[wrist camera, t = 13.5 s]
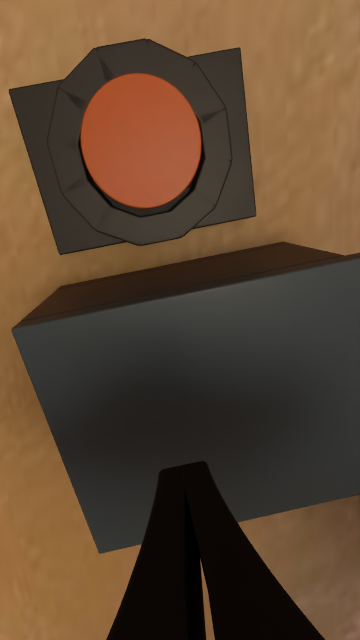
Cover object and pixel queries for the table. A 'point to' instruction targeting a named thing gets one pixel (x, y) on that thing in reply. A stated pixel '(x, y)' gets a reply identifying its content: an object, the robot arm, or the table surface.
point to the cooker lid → (206, 393)
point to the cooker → (176, 277)
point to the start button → (141, 140)
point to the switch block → (78, 185)
